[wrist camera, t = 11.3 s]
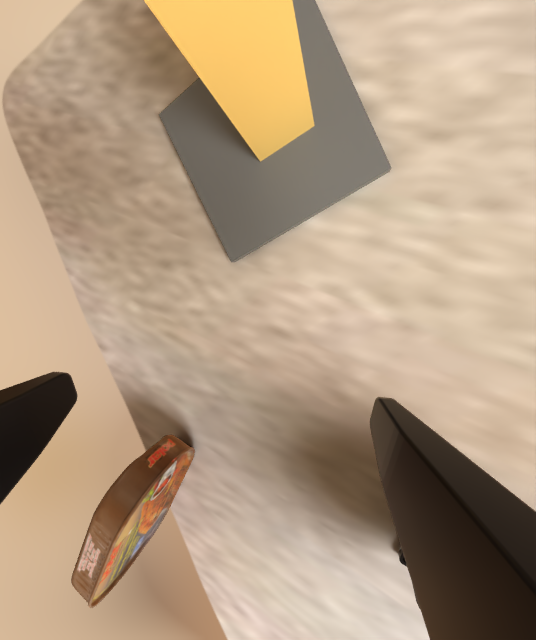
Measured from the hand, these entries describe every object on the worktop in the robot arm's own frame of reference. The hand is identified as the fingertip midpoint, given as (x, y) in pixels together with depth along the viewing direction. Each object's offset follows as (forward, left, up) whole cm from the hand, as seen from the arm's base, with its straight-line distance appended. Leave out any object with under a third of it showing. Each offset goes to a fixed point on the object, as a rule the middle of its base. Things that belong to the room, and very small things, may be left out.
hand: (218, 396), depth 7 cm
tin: (+7, +20, -13) cm, 25 cm away
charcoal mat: (+6, -11, -13) cm, 18 cm away
